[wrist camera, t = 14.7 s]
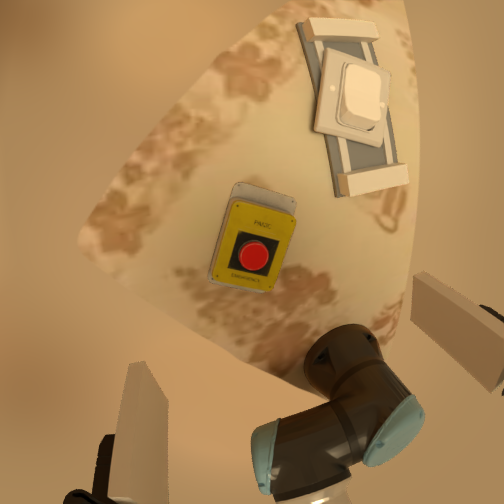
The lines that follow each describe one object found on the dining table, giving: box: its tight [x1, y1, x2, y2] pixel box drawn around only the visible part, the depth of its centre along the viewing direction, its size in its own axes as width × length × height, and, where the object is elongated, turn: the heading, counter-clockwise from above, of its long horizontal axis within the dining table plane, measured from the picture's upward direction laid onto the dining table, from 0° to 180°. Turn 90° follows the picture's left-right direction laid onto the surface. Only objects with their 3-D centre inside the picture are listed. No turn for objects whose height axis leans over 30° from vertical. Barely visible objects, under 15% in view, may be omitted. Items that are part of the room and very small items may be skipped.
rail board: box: [296, 18, 409, 198], centre depth 35 cm, size 27×12×4 cm, turn 13°
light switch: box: [314, 48, 391, 148], centre depth 34 cm, size 11×4×13 cm
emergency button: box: [208, 182, 296, 293], centre depth 39 cm, size 9×4×15 cm
